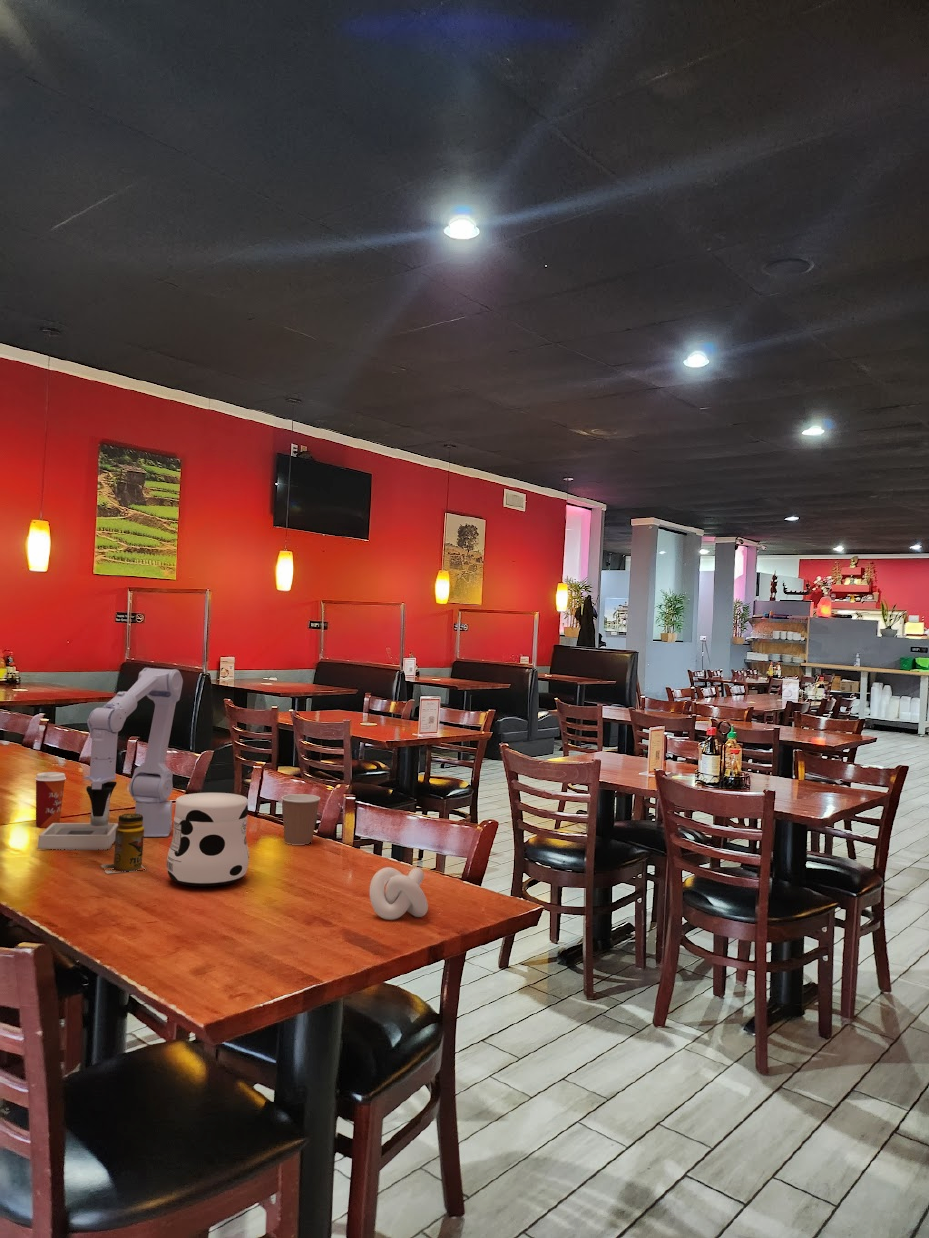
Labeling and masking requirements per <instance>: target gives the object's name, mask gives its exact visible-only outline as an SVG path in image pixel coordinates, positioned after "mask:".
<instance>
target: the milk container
mask: <svg viewBox="0 0 929 1238" xmlns="http://www.w3.org/2000/svg"><path fill="white" fill-rule="evenodd" d="M174 804H175V806H174V816H173V827H172V828H173V830H172V831H173V832H172V833H173V834H172V840H171V844H170V847H169V849H168V853H167V857H166V869H167V874H168V876H169V878H170V879H171V880H172V881H174V882H176V883H178V884H181V885H184V886H191V887H199V888H200V887H202V888H203V887H207V888H208V887H218V886H223V885H229V884H231V883H232V884H234V883H235V882H238V881H239V880H241V879H242V878H243V877H244V876H245V875H246V873H247V870H248V868H249V863H250V853H249V847H248V841H247V827H248V813H249V801H248V798H247V796H244V795H241V794H236V793H229V792H227V793H226V792H197V793H196V792H195V793H188V794H184V795H183V794H182V795H179V796H178V797H177V798H176V800H175V803H174Z"/></svg>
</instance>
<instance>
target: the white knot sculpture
mask: <svg viewBox="0 0 929 1238" xmlns="http://www.w3.org/2000/svg"><path fill="white" fill-rule="evenodd" d="M424 875H425V873H424V872H423V870H422V869H421V868H419V867H414V868H413V869H411V870H410V871H409V873H408V874H403V873H402V872H401V871H399V870H398V869H396V868H393V867H391V866H389V867H388V866H386V867H383V868H381V869H379V870H377V871H376V873H375V874H374V875H373V876H372V878H371V880H370V884H369V900H370V903H371V906H372V908H373V910H374V912H375V913H376V915H378V916H379V917H380V918H381V919H384V920H385V921H387V920H388V921H392V920H393V921H394V920H397V919H399V918H401V917H402V916H403V915H404V914H405V913H406V912H408V913H409V914H410V915H411V916H413V917H415V918H423V916H426V914H427V912H428V910H429V905H428V900H427V897H426V894H425V893H424V891H423V889H422V888H421V885H422V882H423V880H424V877H425V876H424Z"/></svg>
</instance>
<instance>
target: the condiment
mask: <svg viewBox="0 0 929 1238" xmlns="http://www.w3.org/2000/svg"><path fill="white" fill-rule="evenodd" d="M117 823H118V827H117V828H116V836H115V842H114V853H113V854H114V855H113V863H112V864H106V863H105V864H100V867H101V869H103V868H104V869H105V868H114V869H112V870H116V871H122V872H115V871H113V872H112V870H111V869H110V870H109V869H108V870H105V871H104V872H105V873H106V874H107V875H108V874H109V875H110V874H118V873H119V874H120V873H127V872H126V871H129V872H128V873H132V872H138V871H137V870H138V869H140V868H144V869H145V870H144V871H146V870H147V869H146V867H144V866H143V865H142V864H143V855H144V853H143V852H144V839H145V837H144V827H143V826H142V825H143V816H142V815H141V814H135V813H123V814H120V815H119V816H118V821H117ZM134 870H136V871H134ZM123 871H124V872H123Z"/></svg>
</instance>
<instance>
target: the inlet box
mask: <svg viewBox="0 0 929 1238" xmlns="http://www.w3.org/2000/svg"><path fill="white" fill-rule="evenodd" d="M117 827H118V822H113V823H111V822H108V825H106V826H91V825H90V822H59V823H52V824H51V825H50V826H49V827H48V828H45V829H44V830H43V831H42V832H41V833H40V834H38V838H37V839H38V840H37V850H38V849H45V850H44V851H47V850H46V849H52V850H51V851H54V850H53V849H56V850H55V851H108V850H110V849H111V847H112V846H113V845H114V844H115V836H116V828H117ZM112 844H113V845H112ZM57 849H59V850H57ZM60 849H61V850H60ZM64 849H65V850H64ZM75 849H76V850H75ZM98 849H99V850H98ZM103 849H104V850H103ZM107 849H108V850H107Z"/></svg>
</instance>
